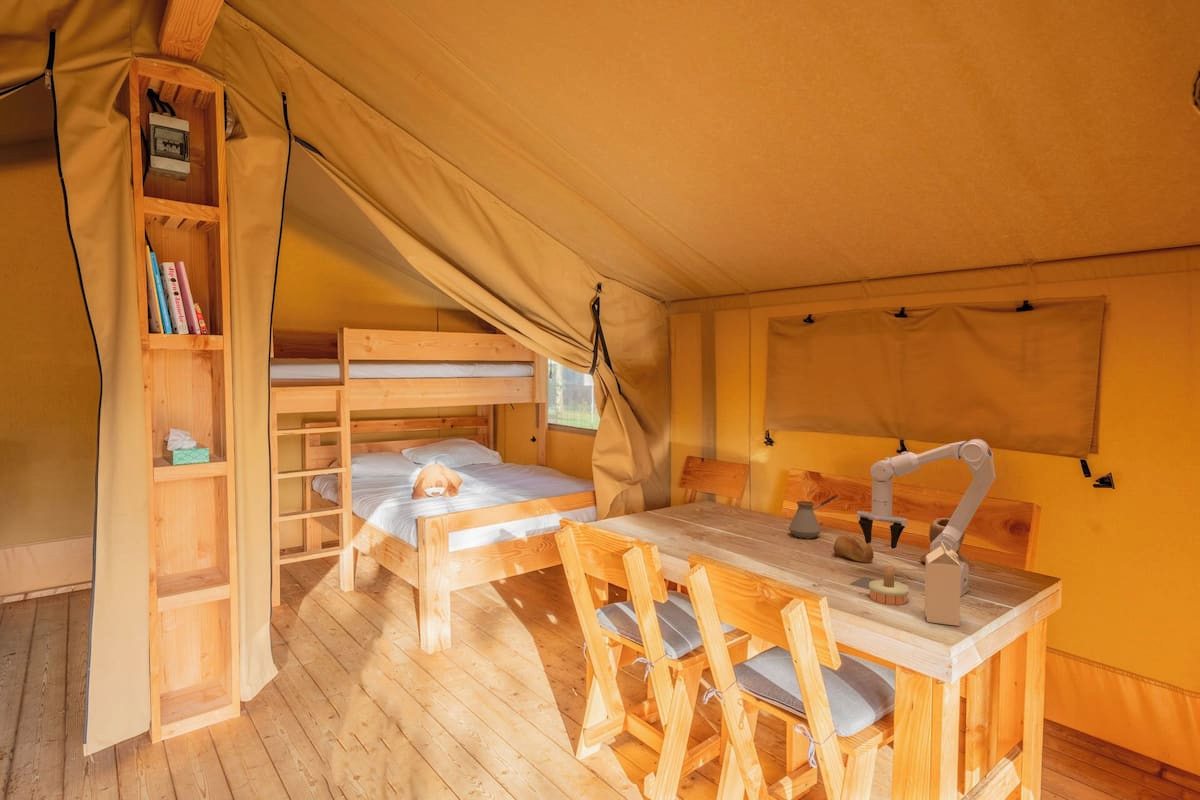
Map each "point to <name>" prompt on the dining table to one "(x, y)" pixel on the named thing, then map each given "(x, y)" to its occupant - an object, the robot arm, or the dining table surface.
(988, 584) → the dining table surface
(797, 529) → the coffee pot
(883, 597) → the bowl
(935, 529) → the stone cup
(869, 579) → the mat
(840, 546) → the bread roll
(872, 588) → the lid
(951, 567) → the milk carton
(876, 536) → the dining table surface
